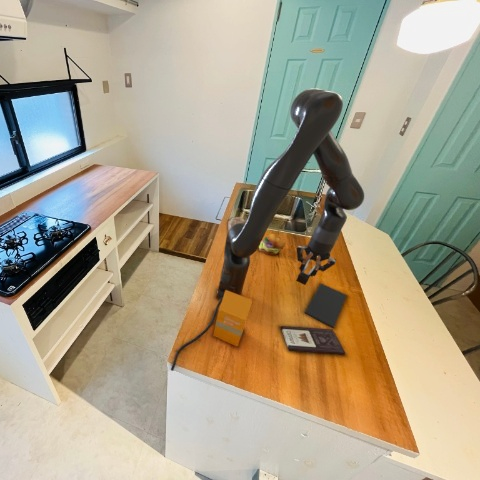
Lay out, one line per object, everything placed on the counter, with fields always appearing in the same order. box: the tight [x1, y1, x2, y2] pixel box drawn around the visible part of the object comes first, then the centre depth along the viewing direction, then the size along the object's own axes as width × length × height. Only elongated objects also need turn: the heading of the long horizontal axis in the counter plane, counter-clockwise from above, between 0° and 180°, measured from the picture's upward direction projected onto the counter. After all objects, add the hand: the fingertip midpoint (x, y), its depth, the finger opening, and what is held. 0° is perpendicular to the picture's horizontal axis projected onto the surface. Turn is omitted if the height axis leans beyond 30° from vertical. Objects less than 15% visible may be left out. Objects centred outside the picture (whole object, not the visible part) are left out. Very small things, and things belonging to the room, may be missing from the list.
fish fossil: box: [227, 216, 247, 232], centre depth 146 cm, size 26×10×1 cm, turn 168°
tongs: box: [295, 259, 316, 286], centre depth 100 cm, size 16×5×3 cm, turn 138°
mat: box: [304, 283, 347, 329], centre depth 102 cm, size 21×10×1 cm, turn 138°
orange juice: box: [212, 290, 253, 347], centre depth 85 cm, size 8×9×20 cm
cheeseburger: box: [258, 233, 286, 256], centre depth 129 cm, size 10×11×10 cm
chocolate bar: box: [280, 325, 346, 355], centre depth 88 cm, size 9×1×18 cm
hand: (306, 272), depth 100 cm, fingers closed on tongs, 3 cm apart
